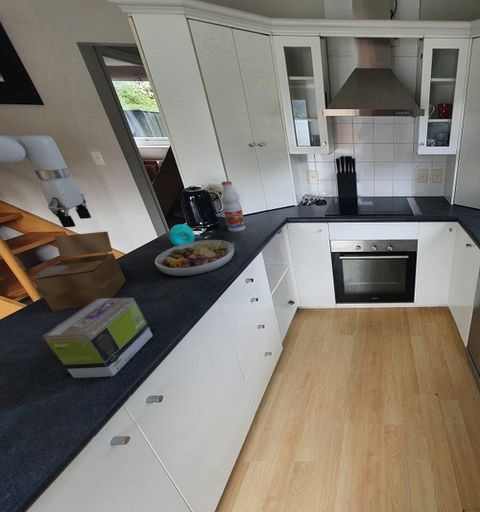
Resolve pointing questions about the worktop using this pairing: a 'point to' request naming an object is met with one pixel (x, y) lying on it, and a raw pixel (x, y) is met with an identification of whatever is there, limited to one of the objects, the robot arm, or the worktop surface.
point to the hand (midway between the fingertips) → (78, 222)
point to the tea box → (100, 337)
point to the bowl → (195, 257)
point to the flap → (83, 244)
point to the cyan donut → (181, 230)
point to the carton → (79, 281)
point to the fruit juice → (232, 208)
